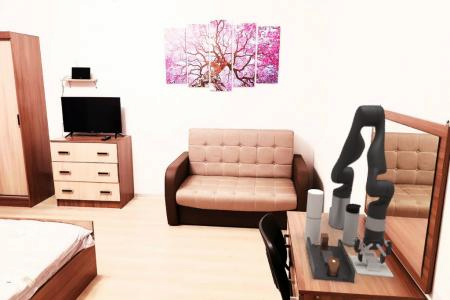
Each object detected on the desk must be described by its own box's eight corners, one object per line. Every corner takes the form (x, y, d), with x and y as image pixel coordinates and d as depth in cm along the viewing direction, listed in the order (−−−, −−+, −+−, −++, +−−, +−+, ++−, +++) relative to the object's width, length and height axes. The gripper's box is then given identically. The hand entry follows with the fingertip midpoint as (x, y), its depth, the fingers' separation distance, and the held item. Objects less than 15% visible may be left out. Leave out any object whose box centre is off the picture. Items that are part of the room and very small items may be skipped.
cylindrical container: (303, 241, 160) (307, 193, 154) (305, 235, 166) (309, 188, 161) (318, 244, 157) (322, 195, 152) (320, 238, 163) (324, 190, 158)
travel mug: (357, 247, 155) (362, 207, 151) (343, 245, 156) (347, 206, 152) (355, 241, 161) (359, 203, 157) (341, 239, 162) (345, 201, 158)
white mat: (349, 256, 147) (349, 255, 147) (381, 259, 145) (382, 258, 145) (357, 274, 133) (357, 273, 133) (393, 277, 132) (393, 276, 131)
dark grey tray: (306, 246, 155) (307, 231, 153) (339, 249, 153) (341, 234, 151) (313, 278, 130) (315, 261, 128) (353, 282, 128) (355, 265, 126)
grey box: (361, 259, 144) (362, 249, 143) (373, 260, 143) (374, 250, 142) (367, 270, 135) (368, 260, 134) (379, 271, 134) (381, 261, 133)
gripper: (390, 224, 138) (385, 258, 141) (354, 221, 140) (351, 256, 143) (396, 231, 131) (391, 268, 134) (359, 229, 133) (355, 265, 136)
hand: (370, 262), depth 139 cm, fingers open, 8 cm apart
